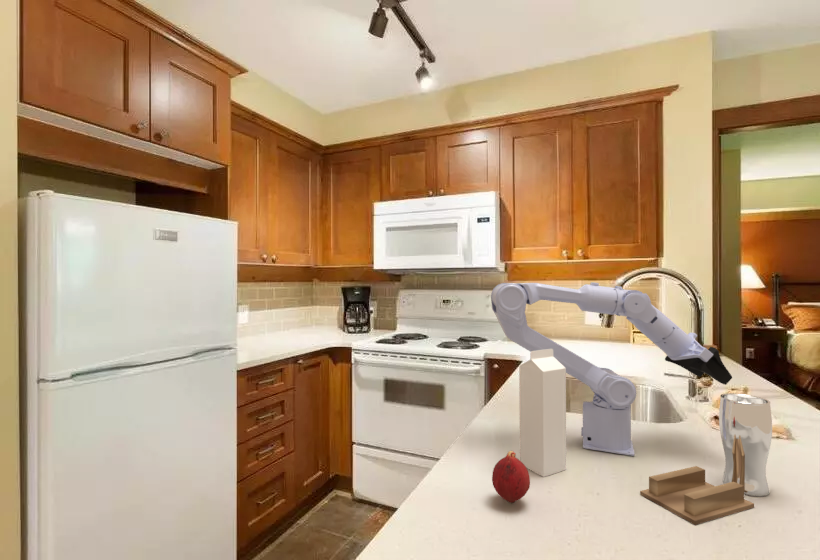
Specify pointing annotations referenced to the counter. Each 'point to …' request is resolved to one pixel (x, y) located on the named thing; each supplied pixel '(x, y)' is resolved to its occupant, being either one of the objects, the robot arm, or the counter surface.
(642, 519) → the counter surface
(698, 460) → the counter surface
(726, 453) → the beer glass
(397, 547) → the counter surface
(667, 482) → the cradle
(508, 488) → the red oval fruit
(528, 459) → the milk
